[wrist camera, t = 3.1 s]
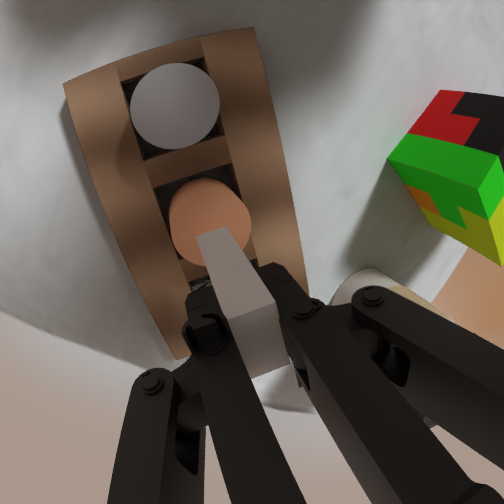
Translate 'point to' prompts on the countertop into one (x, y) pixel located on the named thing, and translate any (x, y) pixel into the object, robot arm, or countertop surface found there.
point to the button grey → (174, 106)
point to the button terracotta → (205, 216)
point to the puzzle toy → (458, 168)
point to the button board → (187, 167)
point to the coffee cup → (380, 279)
